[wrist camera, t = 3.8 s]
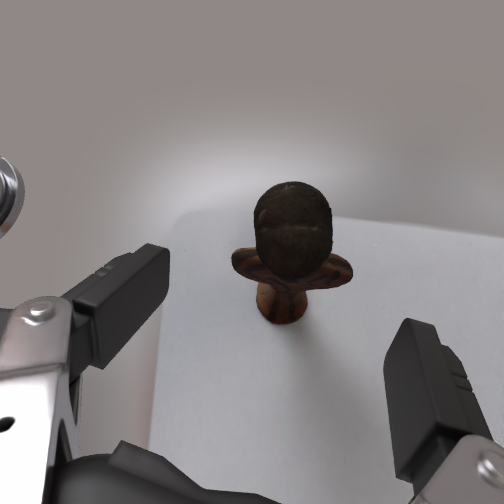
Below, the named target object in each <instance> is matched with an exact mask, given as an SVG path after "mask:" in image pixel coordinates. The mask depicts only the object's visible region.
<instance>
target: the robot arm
mask: <svg viewBox="0 0 504 504" xmlns="http://www.w3.org/2000/svg"><path fill="white" fill-rule="evenodd" d="M4 197H5V181H4V178H3V176H2V174H1V172H0V208H1V206H2V204H3V201H4ZM169 272H170V251H169V250H168V249H167V248H163V247H160V246H156V245H153V244H149V243H147V244H145V245H144V246H142V247H141V248H139V249H138V250H137V251H135V252H134V253H130V252H129V253H127V254H124V255H121V256H118V257H116V258H114V259H112V260H111V261H110V262H108V263H107V264H105V265H104V267H101V268H100V269H99V270H97V271H96V272H95V274H91V275H90V276H89V277H87V278H86V279H85V280H83V281H82V282H80V283H79V284H78V285H76V286H75V287H74V288H72V289H71V290H69V291H68V292H67V293H65V294H64V295H62V296H61V297H55V296H46V297H38V298H34V299H31V300H28V301H26V302H24V303H22V304H20V305H19V306H17V307H16V308H15V309H2V308H0V504H281V503H278V502H276V501H273V500H271V499H268V498H266V497H263V496H261V495H258V494H254V493H242V492H231V491H219V490H208V489H204V488H202V487H200V486H199V485H198V484H196V483H195V482H194V481H193V480H191V479H190V478H189V477H188V476H186V475H185V474H184V473H183V472H182V471H180V470H179V469H178V468H177V467H175V466H174V465H173V464H172V463H170V462H169V461H168V460H167V459H165V458H164V457H163V456H160V455H158V454H155V453H153V452H150V451H148V450H145V449H143V448H140V447H138V446H135V445H133V444H130V443H127V442H125V441H122V440H121V441H120V443H119V444H118V446H117V447H116V449H115V450H114V452H113V453H112V454H95V455H89V456H84V457H80V445H79V432H80V431H79V430H80V414H81V397H82V372H83V371H84V370H85V369H86V367H88V365H91V366H94V367H97V368H100V369H102V370H103V369H104V368H105V367H106V366H107V365H108V364H109V362H110V361H111V360H112V359H113V358H114V357H115V356H116V354H117V353H118V352H119V351H120V350H121V349H122V348H123V346H124V345H125V344H126V343H127V342H128V341H129V340H130V338H131V337H132V336H133V335H134V334H135V333H136V332H137V331H138V329H139V328H140V327H141V326H142V325H143V324H144V322H145V321H146V320H147V319H148V318H149V317H150V316H151V314H152V313H153V312H154V311H155V310H156V309H157V308H158V307H159V305H160V304H161V303H162V302H163V301H164V299H165V297H166V295H167V292H168V289H169ZM383 373H384V381H385V390H386V398H387V406H388V415H389V423H390V431H391V440H392V448H393V456H394V465H395V473H396V478H398V479H401V480H404V481H406V482H409V483H412V484H413V489H414V496H413V498H412V499H411V500H410V501H409V503H408V504H504V448H503V447H501V446H500V445H498V444H497V443H495V442H494V440H493V438H492V436H491V433H490V431H489V428H488V426H487V423H486V421H485V419H484V416H483V414H482V411H481V409H480V406H479V404H478V401H477V399H476V397H475V394H474V393H472V390H473V389H472V387H471V384H470V382H469V380H467V375H466V372H465V370H464V367H463V365H462V362H461V361H460V360H459V358H458V357H457V356H456V355H455V354H454V353H453V351H452V350H451V349H450V348H449V347H448V346H445V345H441V343H440V340H439V337H438V334H437V331H436V329H435V327H434V325H431V324H428V323H424V322H421V321H417V320H414V319H410V318H406V319H404V321H403V322H402V324H401V326H400V328H399V330H398V332H397V334H396V336H395V338H394V340H393V342H392V344H391V345H390V347H389V349H388V351H387V354H386V357H385V360H384V367H383Z"/></svg>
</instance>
